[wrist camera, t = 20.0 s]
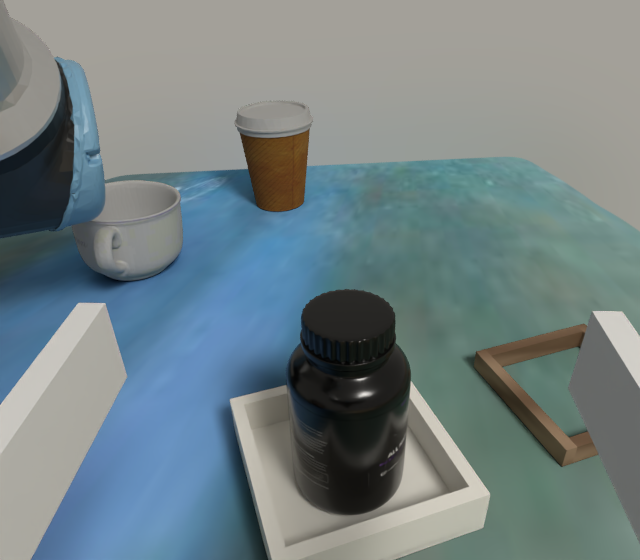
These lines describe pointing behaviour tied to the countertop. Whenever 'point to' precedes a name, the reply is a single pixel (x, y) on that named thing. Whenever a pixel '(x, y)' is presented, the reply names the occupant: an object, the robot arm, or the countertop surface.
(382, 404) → the supplement bottle
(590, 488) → the countertop surface
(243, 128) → the disposable coffee cup
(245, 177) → the countertop surface
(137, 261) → the teacup
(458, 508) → the cream tray
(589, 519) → the countertop surface
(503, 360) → the walnut collar
